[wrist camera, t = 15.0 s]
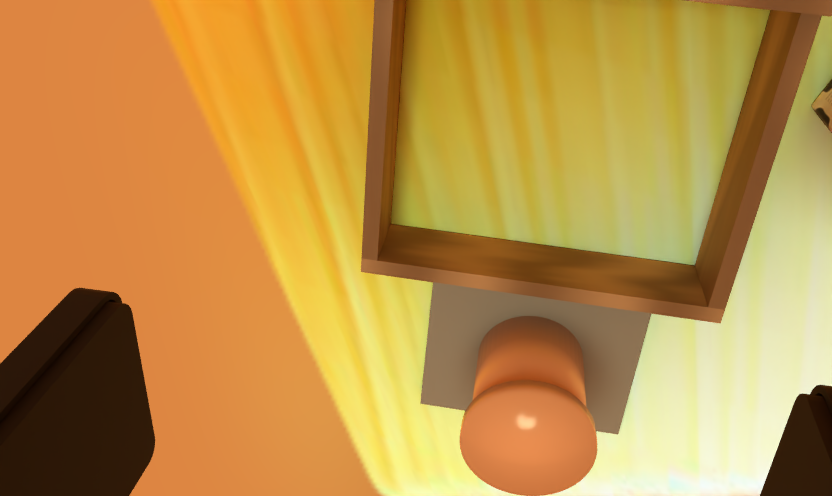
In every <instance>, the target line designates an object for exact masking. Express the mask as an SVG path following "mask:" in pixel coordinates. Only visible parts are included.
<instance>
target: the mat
mask: <svg viewBox="0 0 832 496" xmlns="http://www.w3.org/2000/svg"><path fill="white" fill-rule="evenodd" d="M520 316H538V317H543V318H547V319H550V320H553V321H555V322H557V323H559V324H561V325H563V326H564V327H565V328H567V329H568V330H569V331H570V332H571V333H572V334H573V335H574V336H575V337H576V339H577V340H578V342H579V344H580V346H581V349H582V353H583V363H584V379H585V394H586V407H587V409H588V410H589V412H590V413H591V415H592V417H593V420H594V423H595V427H596V431H600V432H606V433H613V434H618V433H619V429H620V425H621V422H622V418H623V414H624V411H625V407H626V404H627V400H628V396H629V393H630V389H631V385H632V382H633V378H634V374H635V371H636V367H637V363H638V360H639V356H640V352H641V349H642V345H643V342H644V338H645V334H646V331H647V327H648V323H649V320H650V316H651V313H645V312H638V311H631V310H624V309H617V308H610V307H603V306H596V305H589V304H582V303H575V302H568V301H561V300H554V299H547V298H540V297H533V296H526V295H519V294H512V293H505V292H498V291H491V290H484V289H477V288H470V287H463V286H456V285H449V284H442V283H435V282H433V289H432V299H431V309H430V318H429V328H428V337H427V347H426V356H425V366H424V375H423V385H422V394H421V404H427V405H433V406H440V407H446V408H452V409H459V410H465V411H466V409H467V407H468V406H469V404H470V403H471V402H472V400H473V392H474V384H475V376H476V368H477V360H478V351H479V347H480V344H481V342H482V340H483V338H484V336H485V335H486V334H487V333H488V332H489V331H490V330H491V329H492V328H493V327H494V326H496V325H497V324H499V323H501V322H503V321H505V320H508V319H510V318H514V317H520Z"/></svg>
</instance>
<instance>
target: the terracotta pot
mask: <svg viewBox="0 0 832 496" xmlns="http://www.w3.org/2000/svg"><path fill="white" fill-rule="evenodd" d="M460 449H461V452H462V456H463V458H464V460H465V462H466V464H467V465H468V467H469V468H470V469H471V470H472V471H473V473H474V474H475V475H477V476H478V477H479V478H480V479H481V480H483V481H484V482H486V483H487V484H489V485H491V486H493V487H495V488H497V489H499V490H502V491H505V492H508V493H512V494H517V495H525V496H540V495H548V494H553V493H557V492H560V491H563V490H565V489H568V488H570V487H571V486H573V485H575V484H576V483H578V482H579V481H581V480H582V479H583V478H584V477H585V476H586V475H587V473H588V472H589V471H590V470H591V468H592V466H593V464H594V462H595V459H596V455H597V437H596V427H595V423H594V420H593V417H592V415H591V413H590V412H589V410H588V409H587V407H586V394H585V379H584V363H583V353H582V349H581V346H580V344H579V342H578V340H577V339H576V337H575V336H574V335H573V334H572V333H571V332H570V331H569V330H568V329H567V328H565V327H564V326H563V325H561V324H559V323H557V322H555V321H553V320H550V319H547V318H543V317H538V316H520V317H514V318H510V319H508V320H505V321H503V322H501V323H499V324H497V325H496V326H494V327H493V328H492V329H491V330H490V331H489V332H488V333H487V334H486V335H485V336H484V338H483V340H482V342H481V344H480V347H479V351H478V360H477V368H476V376H475V384H474V392H473V400H472V402H471V403H470V404H469V406H468V407H467V409H466V411H465V413H464V416H463V420H462V426H461V433H460Z"/></svg>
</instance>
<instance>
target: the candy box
mask: <svg viewBox="0 0 832 496" xmlns="http://www.w3.org/2000/svg"><path fill="white" fill-rule="evenodd" d="M812 108H813V109H814V111H815V112H816V114H817V115H818V116H819V118H820V119H821V120H822V121H823V123H824V124H825V125H826V126H827V127H828V129H829V130H830V131H831V133H832V80H831V82H830V83H829V84H828V85H827V87H826V88H825V89H824V90H823V91H822V93H821V94H820V95H819V97H818V98H817V99H816V100H815V101H814V103H813V104H812Z"/></svg>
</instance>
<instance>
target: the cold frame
mask: <svg viewBox="0 0 832 496" xmlns="http://www.w3.org/2000/svg"><path fill="white" fill-rule="evenodd" d="M686 1H695V2H704V3H713V4H722V5H731V6H741V7H750V8H759V9H768V10H771V11H770V15H769V18H768V22H767V25H766V28H765V32H764V35H763V38H762V42H761V45H760V48H759V52H758V55H757V59H756V62H755V65H754V69H753V72H752V75H751V79H750V82H749V86H748V89H747V92H746V96H745V99H744V102H743V106H742V109H741V112H740V116H739V119H738V123H737V126H736V129H735V133H734V136H733V139H732V143H731V146H730V149H729V153H728V156H727V160H726V163H725V166H724V170H723V173H722V176H721V180H720V183H719V187H718V190H717V193H716V197H715V200H714V203H713V207H712V210H711V213H710V217H709V220H708V224H707V227H706V230H705V234H704V237H703V240H702V244H701V247H700V251H699V254H698V257H697V261H696V264H695V266H692V265H685V264H678V263H671V262H663V261H656V260H649V259H641V258H634V257H627V256H620V255H612V254H605V253H598V252H590V251H583V250H576V249H569V248H561V247H554V246H547V245H539V244H532V243H525V242H518V241H510V240H503V239H496V238H488V237H481V236H474V235H467V234H459V233H452V232H445V231H437V230H430V229H423V228H416V227H408V226H401V225H394V224H391V212H392V198H393V183H394V169H395V155H396V141H397V126H398V112H399V98H400V84H401V69H402V55H403V41H404V27H405V12H406V0H375V6H374V25H373V45H372V65H371V85H370V104H369V124H368V144H367V163H366V183H365V203H364V223H363V242H362V262H361V272H365V273H372V274H379V275H386V276H393V277H400V278H407V279H414V280H421V281H428V282H435V283H442V284H449V285H456V286H463V287H470V288H477V289H484V290H491V291H498V292H505V293H512V294H519V295H526V296H533V297H540V298H547V299H554V300H561V301H568V302H575V303H582V304H589V305H596V306H603V307H610V308H617V309H624V310H631V311H638V312H645V313H652V314H659V315H666V316H673V317H680V318H687V319H694V320H701V321H708V322H715V323H721V320H722V317H723V314H724V311H725V308H726V305H727V302H728V299H729V296H730V293H731V290H732V286H733V283H734V280H735V277H736V274H737V271H738V268H739V265H740V262H741V259H742V256H743V253H744V250H745V247H746V244H747V241H748V238H749V235H750V232H751V229H752V226H753V223H754V220H755V217H756V214H757V211H758V208H759V205H760V202H761V199H762V195H763V192H764V189H765V186H766V183H767V180H768V177H769V174H770V171H771V168H772V165H773V162H774V159H775V156H776V153H777V150H778V147H779V144H780V141H781V138H782V135H783V132H784V129H785V126H786V123H787V120H788V117H789V114H790V111H791V107H792V104H793V101H794V98H795V95H796V92H797V89H798V86H799V83H800V80H801V77H802V74H803V71H804V68H805V65H806V62H807V59H808V56H809V53H810V50H811V47H812V44H813V41H814V38H815V35H816V32H817V29H818V26H819V23H820V20H821V16H822V15H823V16H832V0H686Z"/></svg>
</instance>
